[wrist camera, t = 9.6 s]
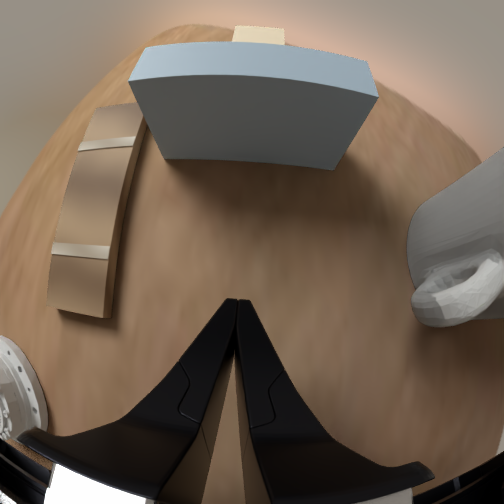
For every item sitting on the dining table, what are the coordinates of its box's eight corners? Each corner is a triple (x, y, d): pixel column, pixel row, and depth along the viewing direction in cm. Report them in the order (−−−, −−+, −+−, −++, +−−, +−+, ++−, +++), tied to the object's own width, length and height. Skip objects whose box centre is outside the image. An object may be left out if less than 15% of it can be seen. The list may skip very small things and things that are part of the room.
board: (111, 317, 15) (102, 318, 14) (56, 306, 15) (45, 305, 14) (152, 110, 19) (148, 100, 17) (101, 116, 19) (95, 107, 17)
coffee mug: (463, 190, 18) (536, 141, 9) (494, 293, 17) (577, 277, 7) (348, 221, 17) (437, 140, 7) (389, 361, 15) (501, 390, 6)
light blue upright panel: (333, 170, 18) (378, 97, 10) (164, 159, 18) (127, 81, 10) (320, 66, 21) (340, 1, 13) (194, 58, 20) (184, -9, 12)
